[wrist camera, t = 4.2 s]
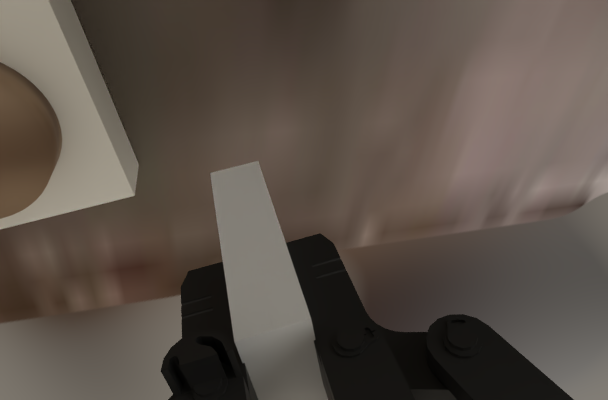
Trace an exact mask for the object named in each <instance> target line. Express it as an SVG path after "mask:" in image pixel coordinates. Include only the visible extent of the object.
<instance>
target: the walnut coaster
mask: <svg viewBox="0 0 608 400" xmlns="http://www.w3.org/2000/svg"><path fill="white" fill-rule="evenodd" d="M61 149H62V133H61V127H60V124H59V120H58V118H57V115H56V113H55V111H54V109H53V108H52V106H51V104H50V102H49V101H48V100H47V98H46V97H45V96H44V95H43V93H42V92H41V91H40V90H39V89H38V88H37V87H36V86H35V85H34V84H33V83H32V82H30V81H29V80H28V79H27V78H26V77H24V76H23V75H21V74H20V73H19V72H17V71H16V70H14V69H12V68H10V67H9V66H7V65H5V64H3V63H1V62H0V219H1V218H5V217H8V216H11V215H13V214H16V213H18V212H20V211H22V210H24V209H25V208H27V207H28V206H30V205H31V204H32V203H33V202H35V201H36V200H37V199H38V197H39V196H40V195H41V194H42V193H43V191H44V189H45V188H46V186H47V184H48V182H49V180H50V177H51V175H52V173H53V171H54V169H55V166H56V164H57V162H58V159H59V157H60V153H61Z"/></svg>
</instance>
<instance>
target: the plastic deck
mask: <svg viewBox="0 0 608 400" xmlns="http://www.w3.org/2000/svg"><path fill="white" fill-rule="evenodd" d="M0 62H1V63H3V64H5V65H7V66H9V67H10V68H12V69H14V70H16V71H17V72H19V73H20V74H21V75H23V76H24V77H26V78H27V79H28V80H29V81H30V82H32V83H33V84H34V85H35V86H36V87H37V88H38V89H39V90H40V91H41V92H42V93H43V95H44V96H45V97H46V98H47V100H48V101H49V102H50V104H51V106H52V108H53V109H54V111H55V113H56V115H57V118H58V120H59V124H60V127H61V133H62V149H61V153H60V157H59V159H58V162H57V164H56V166H55V169H54V171H53V173H52V175H51V177H50V180H49V182H48V184H47V186H46V188H45V189H44V191H43V193H42V194H41V195H40V196H39V197H38V199H37V200H36V201H35V202H33V203H32V204H31V205H30V206H28V207H27V208H25V209H24V210H22V211H20V212H18V213H16V214H13V215H11V216H8V217H5V218H1V219H0V229H4V228H8V227H12V226H16V225H20V224H24V223H28V222H32V221H36V220H40V219H44V218H48V217H52V216H56V215H60V214H64V213H68V212H72V211H76V210H80V209H84V208H88V207H92V206H96V205H100V204H104V203H108V202H112V201H116V200H120V199H124V198H128V197H132V196H135V189H136V182H137V175H138V167H139V164H138V161H137V159H136V156H135V154H134V152H133V149H132V147H131V144H130V142H129V140H128V137H127V135H126V132H125V130H124V127H123V125H122V123H121V120H120V118H119V115H118V113H117V111H116V108H115V106H114V103H113V101H112V99H111V96H110V94H109V91H108V89H107V86H106V84H105V82H104V79H103V77H102V74H101V72H100V70H99V67H98V65H97V62H96V60H95V57H94V55H93V53H92V50H91V48H90V45H89V43H88V41H87V38H86V36H85V33H84V31H83V29H82V26H81V24H80V21H79V19H78V16H77V14H76V12H75V9H74V7H73V4H72V2H71V0H0Z"/></svg>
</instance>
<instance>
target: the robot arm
mask: <svg viewBox="0 0 608 400" xmlns="http://www.w3.org/2000/svg"><path fill="white" fill-rule="evenodd" d="M210 176H211V183H212V190H213V197H214V204H215V211H216V218H217V225H218V231H219V238H220V245H221V252H222V259H223V262H220V263H216V264H213V265H209V266H206V267H202V268H198V269H195V270H191V271H188V273H187V276H186V278H185V280H184V282H183V284H182V286H181V304H182V307H181V313H182V339H181V340H180V341H178V342H177V343H176V344H175V345H174V346H172V347H171V349H170V350H169V352H168V353H167V355H166V356H165V358H164V360H163V364H162V368H161V372H162V374H163V376H164V378H165V379H166V381H167V383H168V385H169V387H170V389H171V391H172V392H173V395H172V396H171V397H170V398H169V399H168V400H573V399H572V398H571V397H570V396H569V395H568V394H567V393H565V392H564V391H563V390H562V389H561V388H560V387H558V386H557V385H556V384H555V383H554V382H553V381H552V380H550V379H549V378H548V377H547V376H546V375H545V374H544V373H542V372H541V371H540V370H539V369H538V368H537V367H535V366H534V365H533V364H532V363H531V362H530V361H529V360H527V359H526V358H525V357H524V356H523V355H522V354H520V353H519V352H518V351H517V350H516V349H515V348H513V347H512V346H511V345H510V344H509V343H508V342H507V341H506V340H504V339H503V338H502V337H501V336H500V335H499V334H497V333H496V332H495V331H494V330H493V329H492V328H491V327H489V326H488V325H486V324H485V323H483V322H482V321H480V320H479V319H477V318H474V317H470V316H467V315H463V314H462V315H447V316H445V317H442V318H439V319H437V320H436V321H435V322H434V323H433V324H432V325H431V326H430V327H429V330H428V332H395V331H391V330H388V329H385V328H383V327H381V326H380V325H377V324H376V323H375V322H374V321H373V320H372V319H371V318H370V317H369V316H368V314H367V313H366V311H365V309H364V307H363V304H362V302H361V300H360V298H359V296H358V294H357V292H356V290H355V288H354V286H353V283H352V281H351V279H350V277H349V275H348V273H347V271H346V269H345V267H344V265H343V262H342V261H341V259H340V256H339V254H338V252H337V250H336V248H335V246H334V244H333V243H332V242H331V241H330V240H328V239H327V238H326V237H324V236H323V235H322V234H317V235H313V236H309V237H306V238H302V239H299V240H295V241H291V242H288V243H286V242H285V239H284V236H283V233H282V230H281V227H280V225H279V222H278V219H277V216H276V213H275V210H274V207H273V204H272V201H271V198H270V195H269V192H268V189H267V186H266V183H265V180H264V177H263V174H262V171H261V168H260V165H259V162H258V161H255V162H251V163H247V164H243V165H239V166H236V167H232V168H228V169H224V170H220V171H216V172H212V173H210Z"/></svg>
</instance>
